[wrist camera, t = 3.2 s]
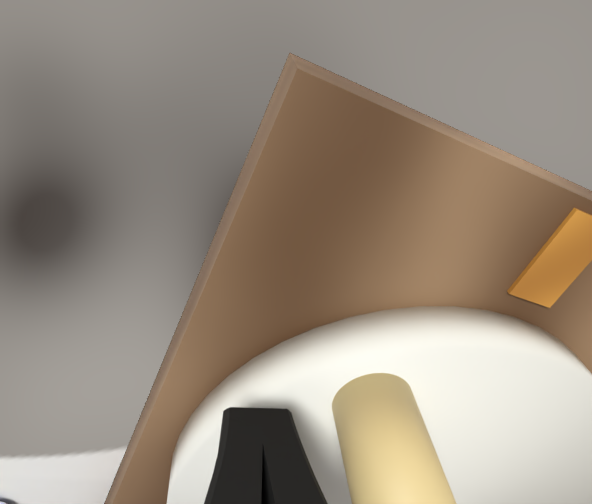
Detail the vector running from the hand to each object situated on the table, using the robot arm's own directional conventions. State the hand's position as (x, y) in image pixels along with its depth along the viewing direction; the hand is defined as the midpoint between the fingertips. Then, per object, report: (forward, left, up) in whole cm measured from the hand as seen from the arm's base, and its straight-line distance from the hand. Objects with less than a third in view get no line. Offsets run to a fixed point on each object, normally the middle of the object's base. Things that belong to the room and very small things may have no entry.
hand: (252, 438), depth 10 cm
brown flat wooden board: (+6, -4, -4) cm, 8 cm away
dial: (+6, -4, -3) cm, 8 cm away
